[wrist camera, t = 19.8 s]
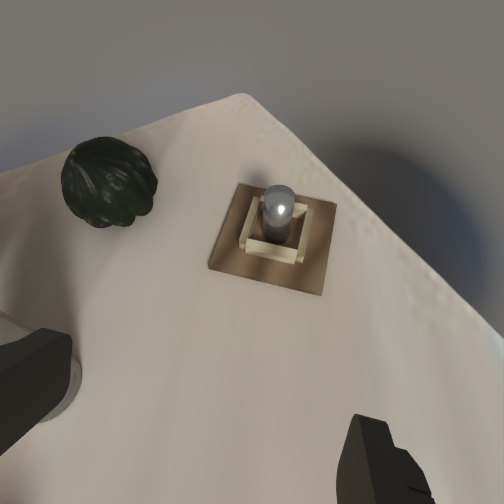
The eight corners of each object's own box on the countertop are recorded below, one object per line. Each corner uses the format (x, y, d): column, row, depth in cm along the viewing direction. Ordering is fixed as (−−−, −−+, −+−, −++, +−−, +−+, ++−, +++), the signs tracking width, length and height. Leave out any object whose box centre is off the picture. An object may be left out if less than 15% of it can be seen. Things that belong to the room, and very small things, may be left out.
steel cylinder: (259, 240, 55) (260, 204, 47) (266, 219, 57) (268, 182, 49) (285, 246, 54) (291, 211, 46) (292, 225, 56) (298, 188, 49)
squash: (167, 146, 60) (84, 97, 49) (177, 212, 53) (82, 172, 42) (123, 190, 67) (42, 155, 56) (127, 253, 60) (33, 228, 49)
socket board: (208, 268, 53) (206, 257, 50) (239, 187, 62) (239, 174, 59) (320, 296, 51) (325, 285, 48) (335, 207, 60) (340, 194, 57)
